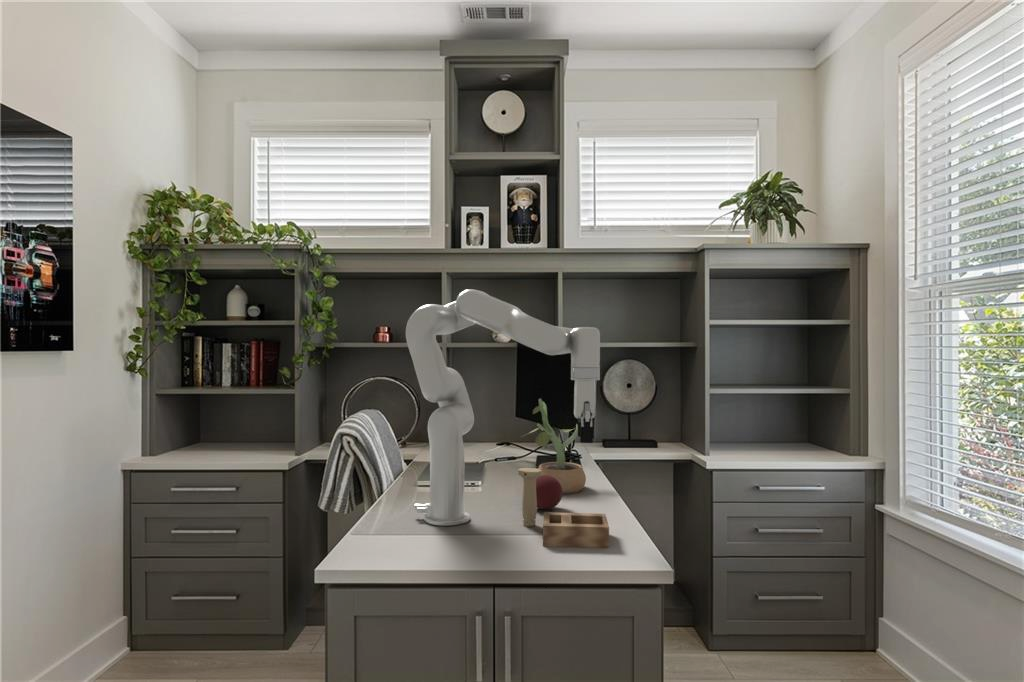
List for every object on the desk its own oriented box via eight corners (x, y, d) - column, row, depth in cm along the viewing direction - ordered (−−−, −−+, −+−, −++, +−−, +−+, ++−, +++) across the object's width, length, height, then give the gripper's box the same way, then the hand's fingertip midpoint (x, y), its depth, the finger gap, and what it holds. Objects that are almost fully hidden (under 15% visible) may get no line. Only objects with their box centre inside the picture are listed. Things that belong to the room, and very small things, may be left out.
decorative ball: (568, 511, 190) (568, 477, 190) (538, 515, 185) (538, 480, 185) (551, 503, 199) (551, 470, 199) (522, 506, 194) (522, 473, 194)
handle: (535, 529, 172) (535, 472, 172) (514, 525, 175) (514, 470, 175) (544, 524, 176) (544, 469, 176) (523, 521, 179) (524, 467, 179)
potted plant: (590, 484, 224) (591, 397, 224) (580, 496, 207) (581, 402, 207) (527, 479, 231) (528, 395, 230) (513, 491, 214) (513, 400, 213)
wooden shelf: (542, 546, 158) (542, 525, 158) (543, 531, 170) (543, 512, 170) (608, 548, 157) (609, 527, 157) (605, 532, 169) (605, 513, 169)
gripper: (569, 372, 179) (569, 434, 179) (572, 376, 161) (572, 444, 161) (596, 372, 178) (596, 434, 178) (603, 376, 161) (602, 445, 161)
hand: (585, 439), depth 170 cm, fingers open, 9 cm apart
